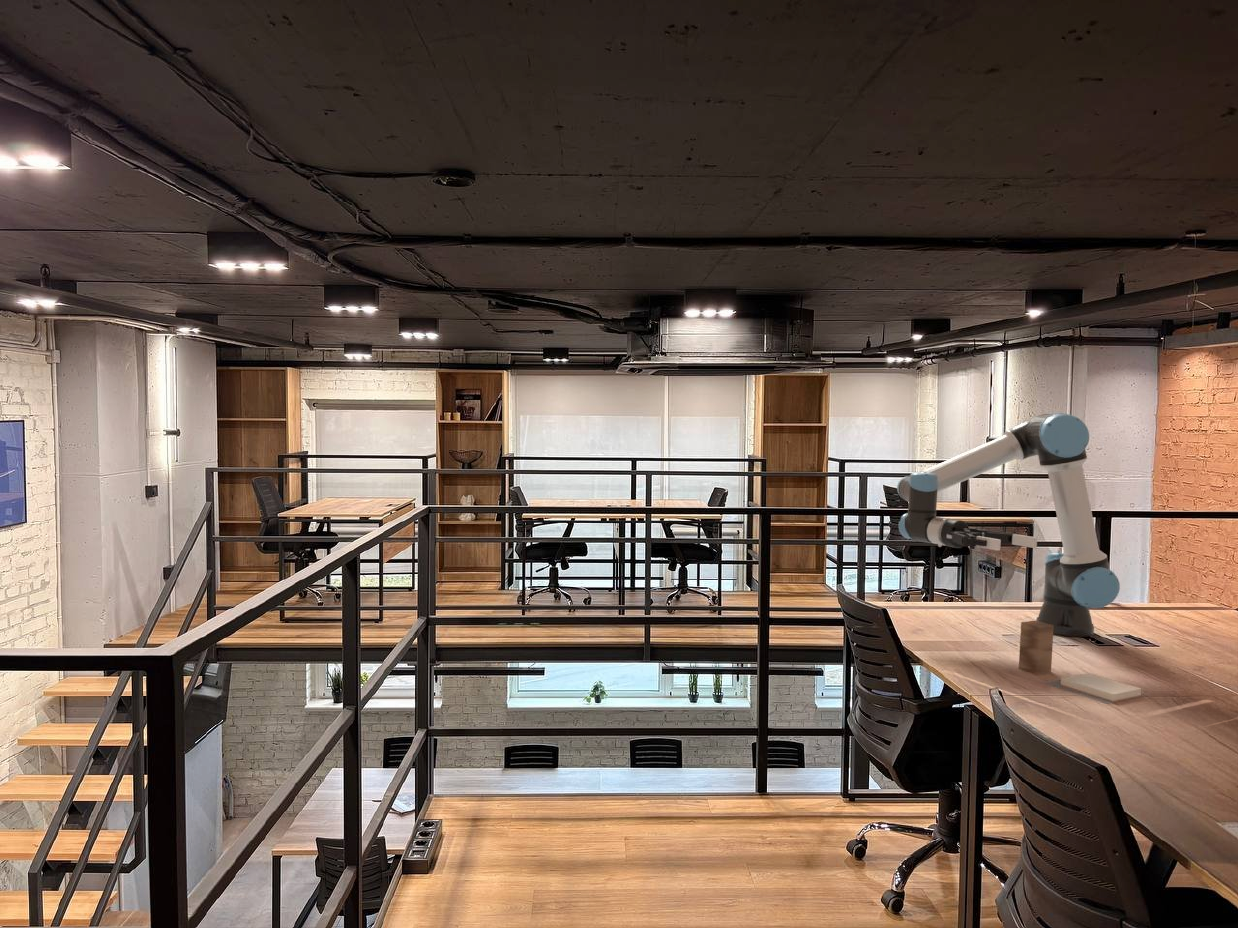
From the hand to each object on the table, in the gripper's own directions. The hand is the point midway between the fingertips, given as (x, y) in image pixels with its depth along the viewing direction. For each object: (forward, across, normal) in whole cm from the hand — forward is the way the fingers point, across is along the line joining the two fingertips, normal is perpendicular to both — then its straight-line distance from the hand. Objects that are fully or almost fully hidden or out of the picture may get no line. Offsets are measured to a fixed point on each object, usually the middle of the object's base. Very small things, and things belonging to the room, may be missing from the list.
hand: (1018, 543), depth 206 cm
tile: (+19, +3, -28) cm, 34 cm away
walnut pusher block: (+8, +3, -30) cm, 31 cm away
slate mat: (+23, +3, -30) cm, 38 cm away
